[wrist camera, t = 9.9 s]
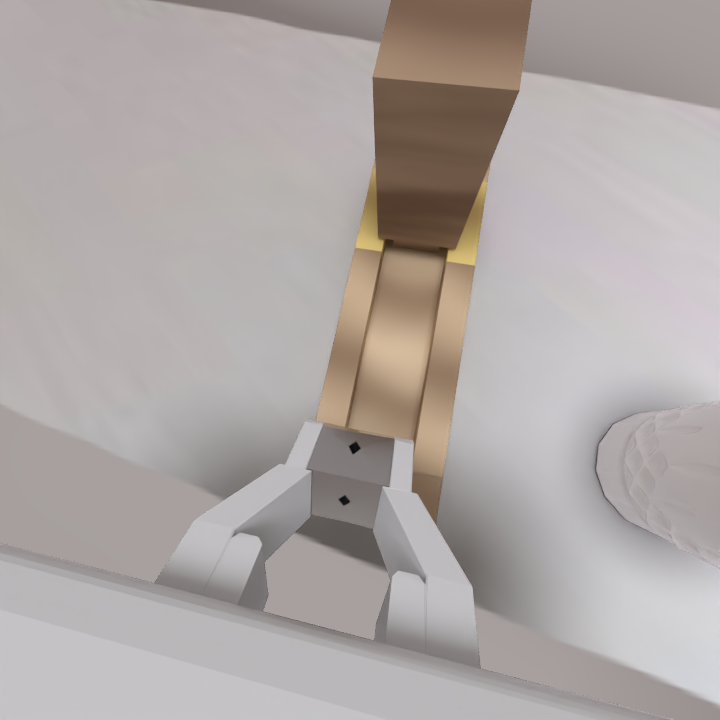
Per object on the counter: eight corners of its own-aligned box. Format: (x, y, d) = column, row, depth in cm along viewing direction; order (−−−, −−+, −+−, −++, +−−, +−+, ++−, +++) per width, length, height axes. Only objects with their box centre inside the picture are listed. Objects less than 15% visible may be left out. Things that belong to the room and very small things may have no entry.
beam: (425, 516, 19) (434, 534, 16) (312, 489, 20) (297, 501, 17) (479, 169, 24) (495, 126, 20) (385, 158, 25) (385, 115, 21)
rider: (450, 261, 20) (519, 90, 10) (378, 251, 21) (372, 77, 10) (461, 198, 21) (534, -22, 11) (391, 189, 21) (398, -30, 11)
